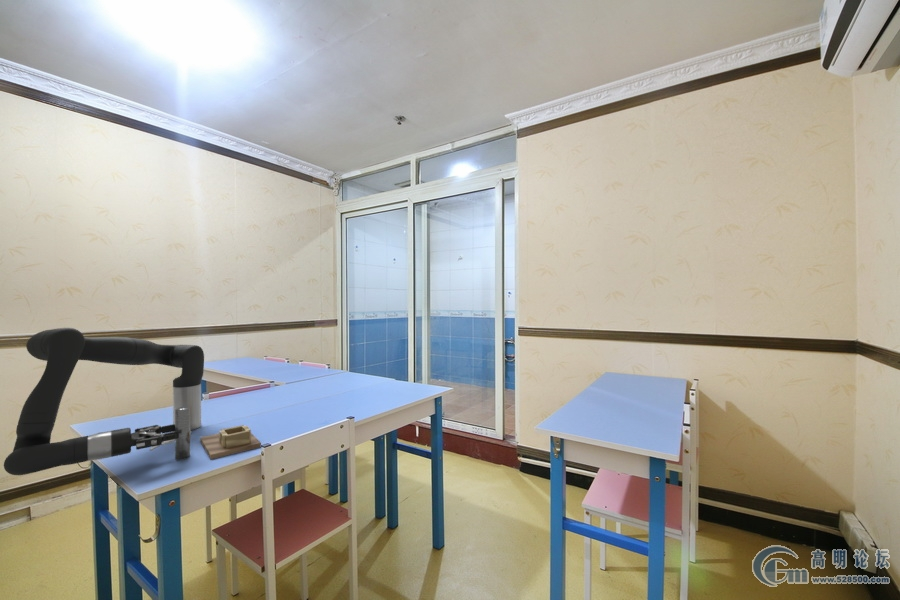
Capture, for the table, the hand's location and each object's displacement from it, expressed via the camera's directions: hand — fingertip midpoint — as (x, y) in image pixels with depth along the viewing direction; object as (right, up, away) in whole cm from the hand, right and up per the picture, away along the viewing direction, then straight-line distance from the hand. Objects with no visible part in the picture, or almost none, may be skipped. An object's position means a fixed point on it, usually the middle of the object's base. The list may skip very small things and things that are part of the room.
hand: (177, 430), depth 121 cm
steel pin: (+1, -9, +1) cm, 9 cm away
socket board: (+10, -9, +12) cm, 18 cm away
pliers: (-11, -9, +15) cm, 21 cm away
